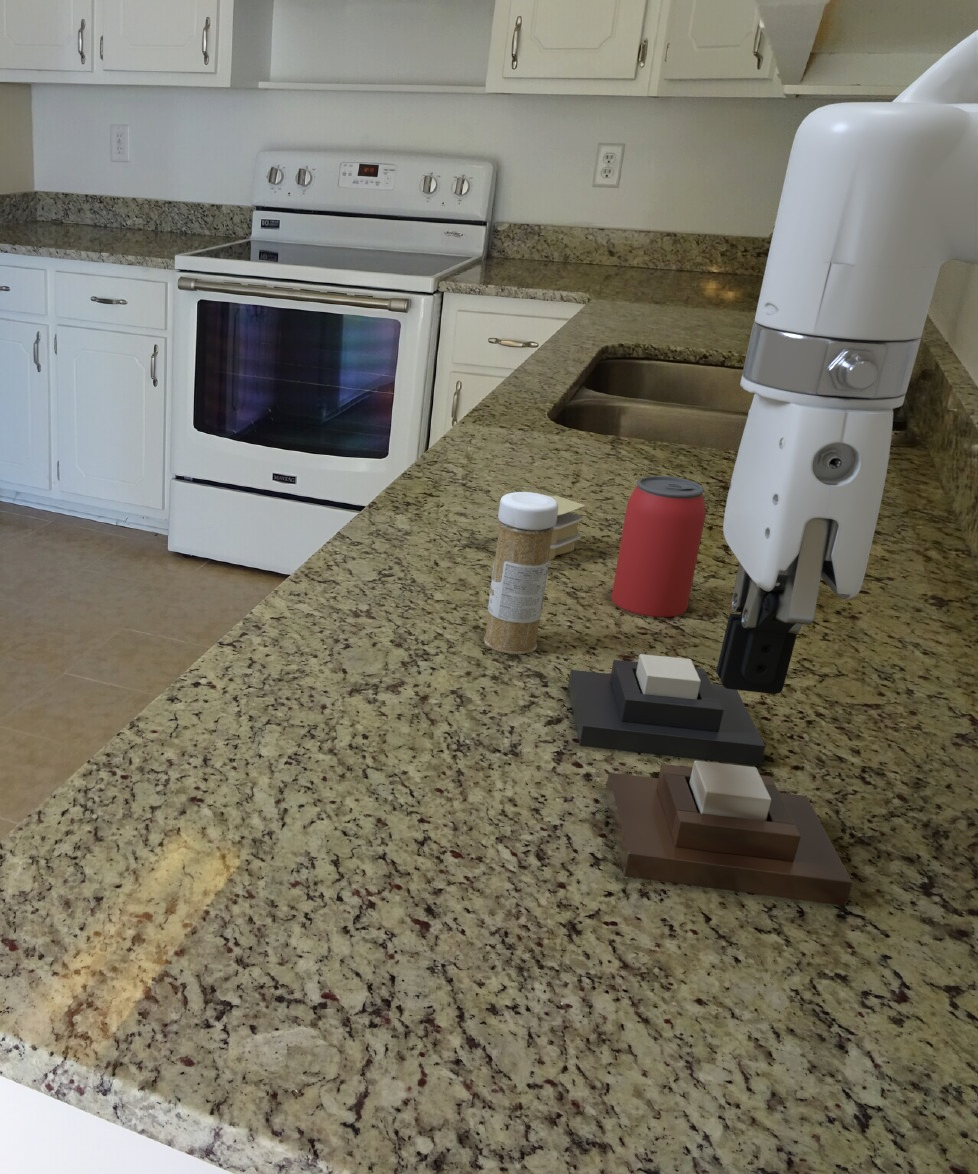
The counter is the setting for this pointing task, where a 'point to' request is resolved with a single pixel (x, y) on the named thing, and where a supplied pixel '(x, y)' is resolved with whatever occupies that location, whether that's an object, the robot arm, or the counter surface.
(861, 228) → the robot arm
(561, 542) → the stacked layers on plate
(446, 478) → the counter surface
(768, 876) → the brown stepped base
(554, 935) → the counter surface
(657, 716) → the grey stepped base
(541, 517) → the tan spice bottle
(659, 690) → the key
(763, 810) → the key
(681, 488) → the beer can
